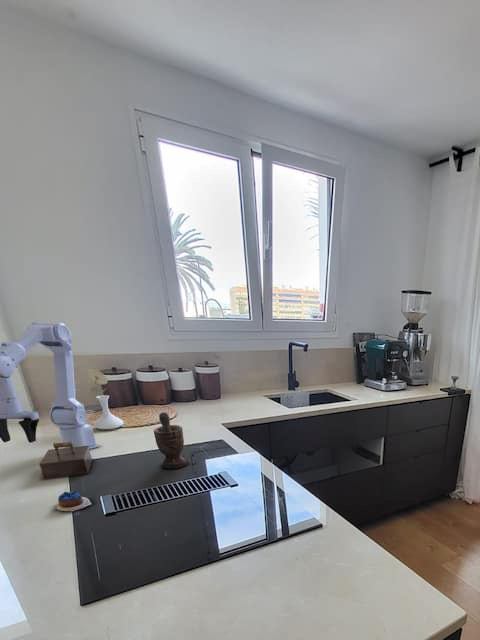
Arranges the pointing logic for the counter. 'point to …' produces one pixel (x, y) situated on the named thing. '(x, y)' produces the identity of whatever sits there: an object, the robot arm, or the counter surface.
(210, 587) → the counter surface
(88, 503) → the dessert
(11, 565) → the counter surface
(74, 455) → the box lid
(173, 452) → the mortar and pestle
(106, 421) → the flower in vase
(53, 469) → the storage box
